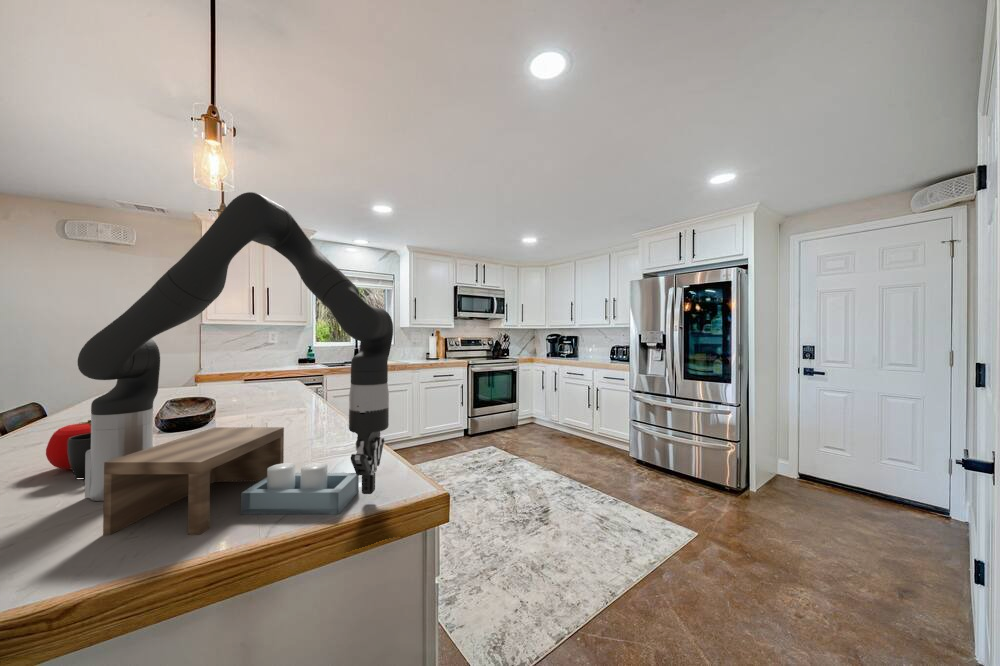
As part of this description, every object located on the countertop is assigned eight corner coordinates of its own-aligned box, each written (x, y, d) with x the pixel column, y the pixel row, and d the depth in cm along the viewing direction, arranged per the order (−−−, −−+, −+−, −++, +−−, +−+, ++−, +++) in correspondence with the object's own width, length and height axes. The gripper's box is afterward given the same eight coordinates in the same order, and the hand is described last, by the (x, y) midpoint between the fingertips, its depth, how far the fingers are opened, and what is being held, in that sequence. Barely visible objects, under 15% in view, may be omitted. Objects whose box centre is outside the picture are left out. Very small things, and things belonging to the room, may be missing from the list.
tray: (241, 514, 68) (241, 476, 68) (273, 491, 78) (274, 458, 78) (338, 514, 69) (338, 476, 69) (358, 491, 79) (358, 458, 79)
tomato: (27, 477, 86) (28, 427, 86) (83, 458, 100) (84, 415, 100) (90, 474, 88) (91, 425, 88) (137, 456, 101) (138, 414, 102)
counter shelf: (103, 534, 61) (104, 462, 61) (213, 479, 85) (214, 427, 85) (200, 534, 61) (200, 462, 61) (283, 479, 85) (283, 427, 85)
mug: (82, 487, 81) (82, 443, 81) (60, 478, 86) (61, 437, 86) (132, 474, 88) (132, 434, 88) (109, 467, 93) (110, 429, 93)
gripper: (362, 400, 80) (361, 479, 80) (336, 412, 67) (335, 507, 67) (396, 400, 81) (396, 479, 80) (377, 412, 67) (376, 507, 67)
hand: (368, 492), depth 74 cm, fingers closed
